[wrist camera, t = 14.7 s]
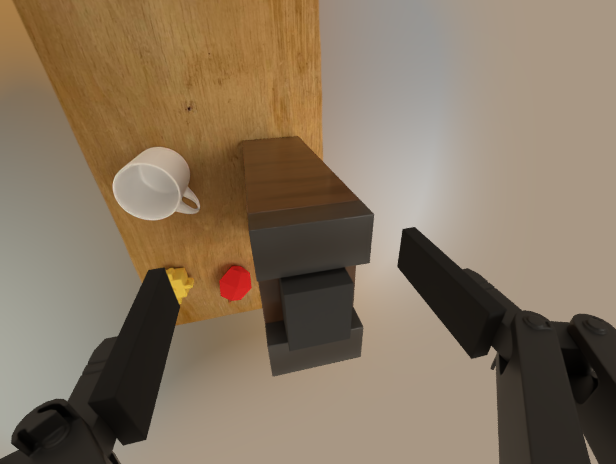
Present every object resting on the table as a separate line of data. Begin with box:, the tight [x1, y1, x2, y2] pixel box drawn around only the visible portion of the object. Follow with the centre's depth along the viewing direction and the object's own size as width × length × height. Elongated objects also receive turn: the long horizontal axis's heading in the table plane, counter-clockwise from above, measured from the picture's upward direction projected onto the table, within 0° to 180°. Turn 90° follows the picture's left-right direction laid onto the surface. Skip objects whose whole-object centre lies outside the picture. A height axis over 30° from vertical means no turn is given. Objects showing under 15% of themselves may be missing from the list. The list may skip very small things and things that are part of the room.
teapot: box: [166, 268, 194, 304], centre depth 57 cm, size 8×6×5 cm
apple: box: [220, 266, 252, 303], centre depth 59 cm, size 7×7×8 cm
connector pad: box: [279, 267, 354, 351], centre depth 27 cm, size 7×6×4 cm
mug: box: [113, 147, 200, 220], centre depth 45 cm, size 9×12×11 cm
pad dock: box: [242, 136, 374, 376], centre depth 40 cm, size 18×10×33 cm, turn 2°
